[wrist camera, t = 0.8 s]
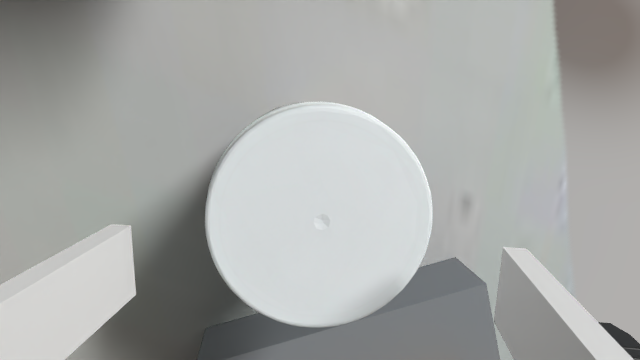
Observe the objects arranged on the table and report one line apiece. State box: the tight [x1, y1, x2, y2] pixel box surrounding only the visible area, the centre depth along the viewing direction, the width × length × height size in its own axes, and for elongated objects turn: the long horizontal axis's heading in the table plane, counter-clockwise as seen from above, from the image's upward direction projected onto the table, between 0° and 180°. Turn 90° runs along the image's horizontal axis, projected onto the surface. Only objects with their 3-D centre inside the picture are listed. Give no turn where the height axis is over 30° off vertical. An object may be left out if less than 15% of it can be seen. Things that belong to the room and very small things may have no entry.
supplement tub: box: [205, 102, 433, 328], centre depth 24 cm, size 10×10×15 cm
